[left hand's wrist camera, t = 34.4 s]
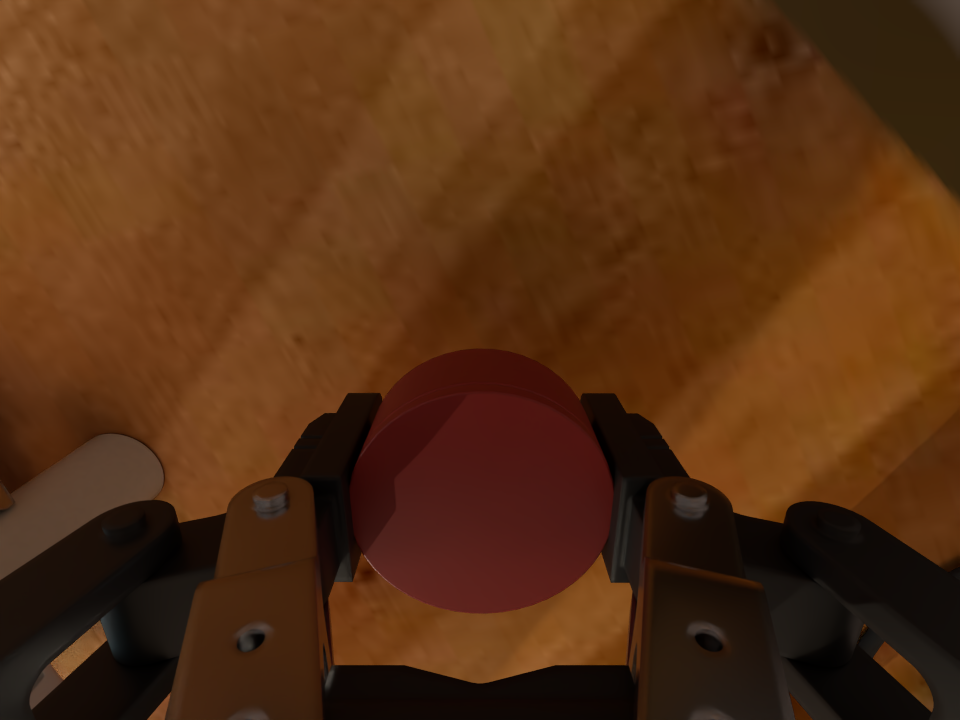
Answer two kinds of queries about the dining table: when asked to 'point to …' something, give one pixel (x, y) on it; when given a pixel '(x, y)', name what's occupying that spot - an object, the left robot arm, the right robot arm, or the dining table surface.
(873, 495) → the dining table surface
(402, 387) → the lid
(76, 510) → the bottle
